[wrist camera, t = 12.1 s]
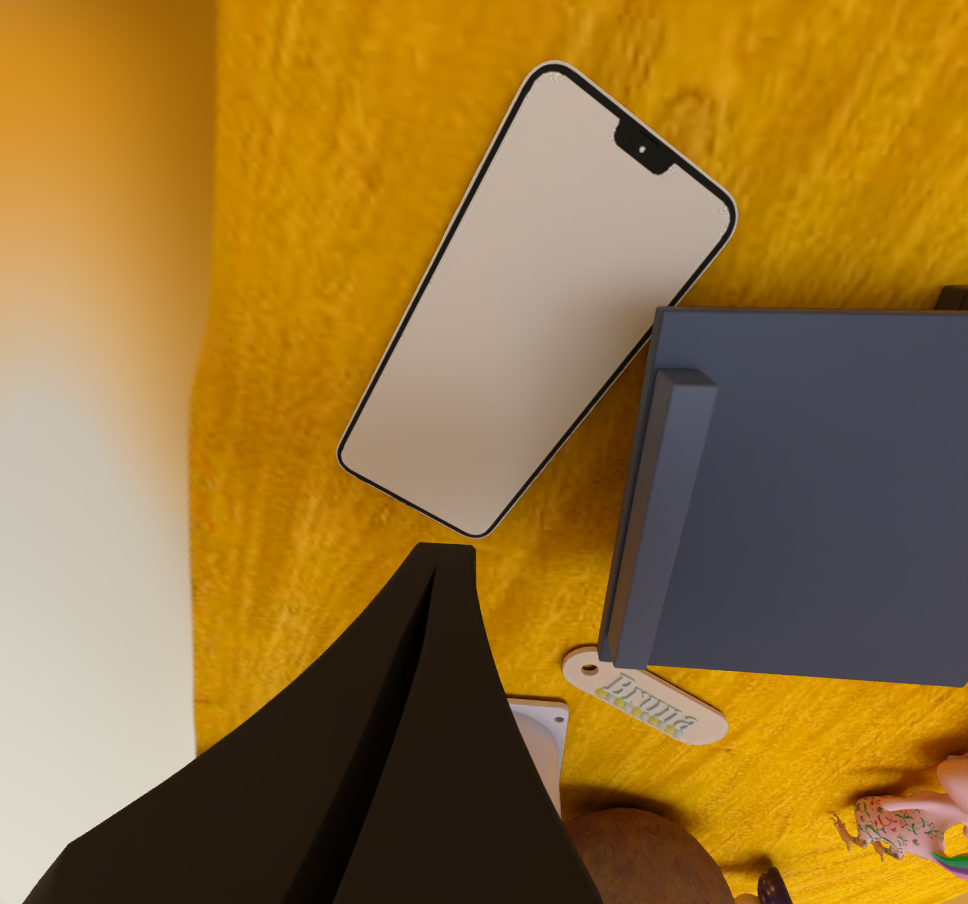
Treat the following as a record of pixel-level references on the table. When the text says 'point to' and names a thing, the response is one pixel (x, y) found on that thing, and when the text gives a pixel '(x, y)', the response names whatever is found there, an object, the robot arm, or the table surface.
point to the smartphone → (533, 301)
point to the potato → (646, 859)
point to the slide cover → (797, 497)
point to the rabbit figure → (916, 819)
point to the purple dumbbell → (767, 890)
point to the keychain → (646, 698)
